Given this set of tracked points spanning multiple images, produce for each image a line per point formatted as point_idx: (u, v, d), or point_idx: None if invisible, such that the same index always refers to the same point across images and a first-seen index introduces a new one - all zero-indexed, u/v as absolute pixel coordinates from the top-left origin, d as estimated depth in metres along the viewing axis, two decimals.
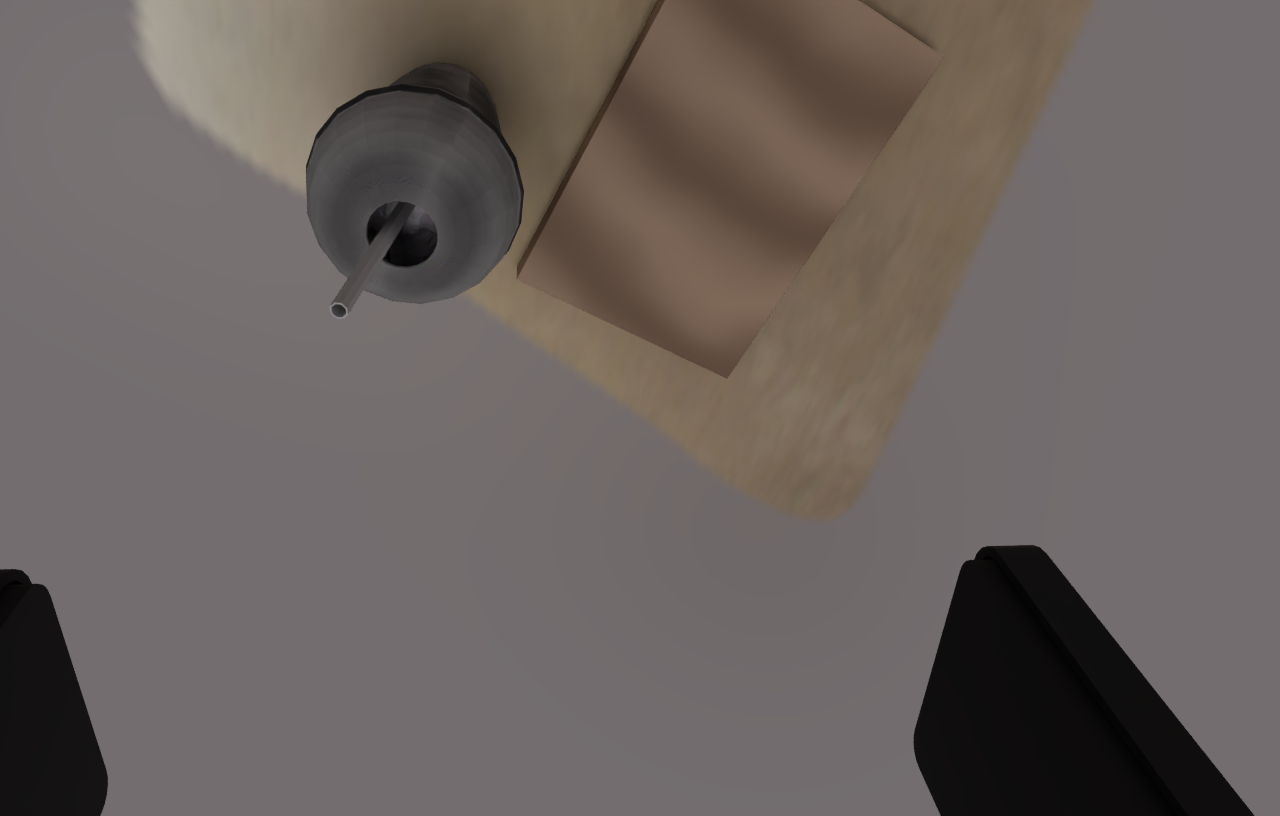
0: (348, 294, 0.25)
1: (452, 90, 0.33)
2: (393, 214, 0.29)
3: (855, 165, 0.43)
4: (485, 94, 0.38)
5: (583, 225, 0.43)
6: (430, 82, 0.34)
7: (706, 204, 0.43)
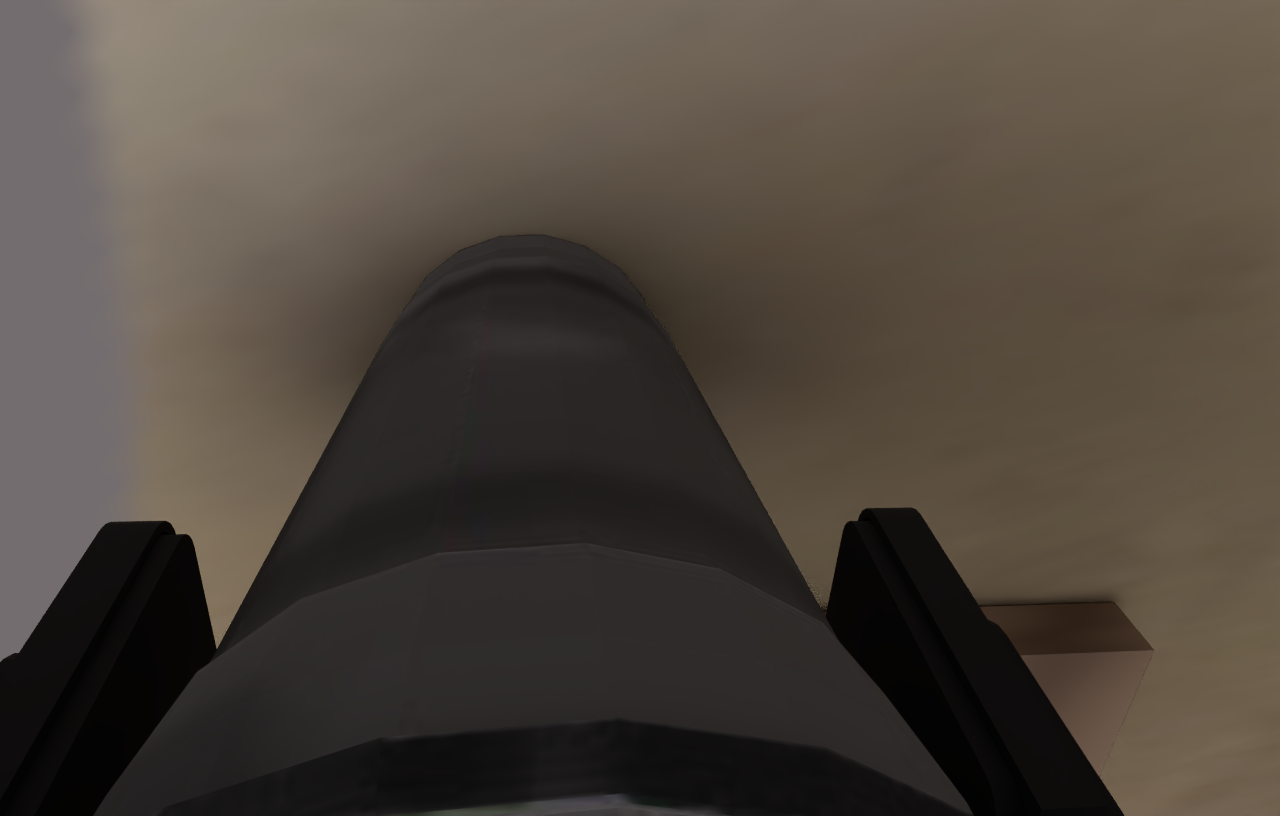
0: None
1: None
2: None
3: None
4: None
5: None
6: None
7: None
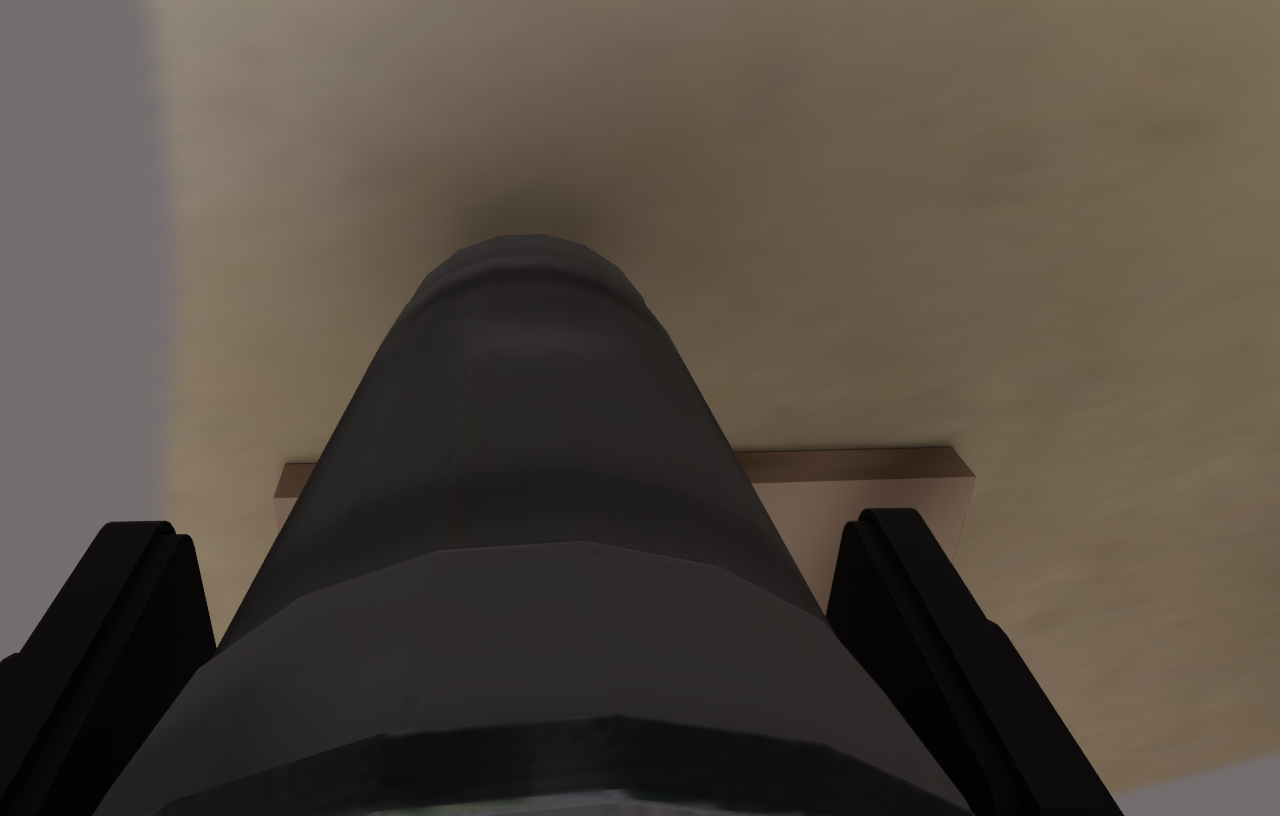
0: None
1: None
2: None
3: None
4: None
5: None
6: None
7: None
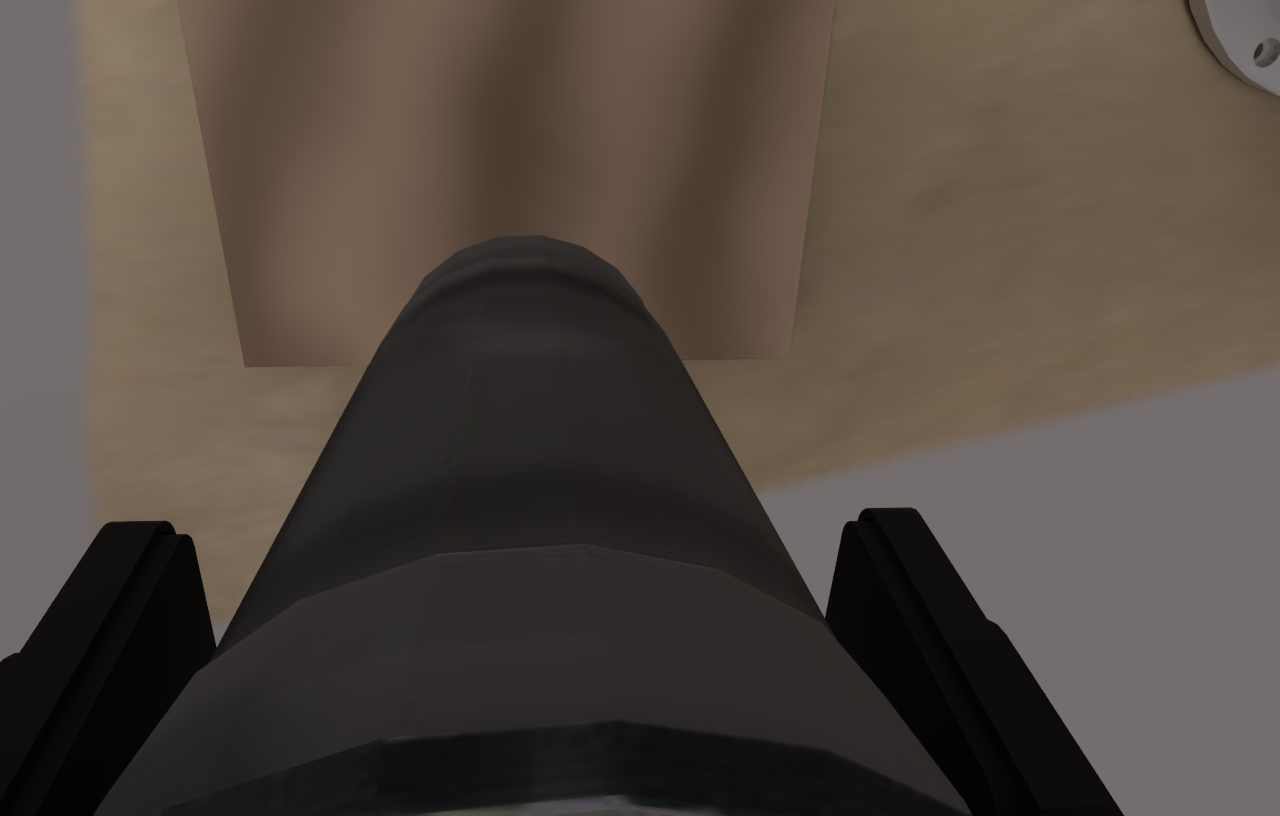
0: None
1: None
2: None
3: None
4: None
5: (327, 20, 0.25)
6: None
7: (468, 188, 0.28)
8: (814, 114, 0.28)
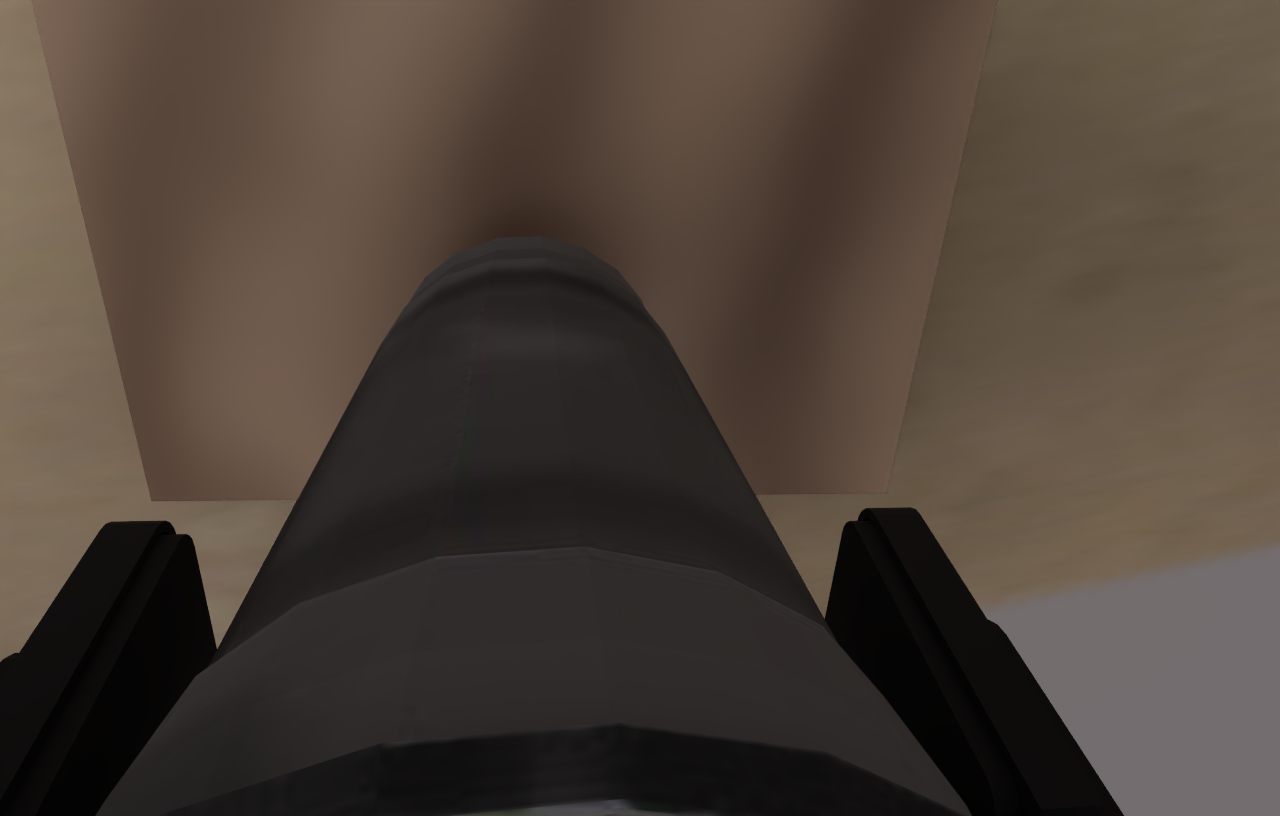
0: None
1: None
2: None
3: None
4: None
5: (257, 35, 0.17)
6: None
7: None
8: (947, 178, 0.20)
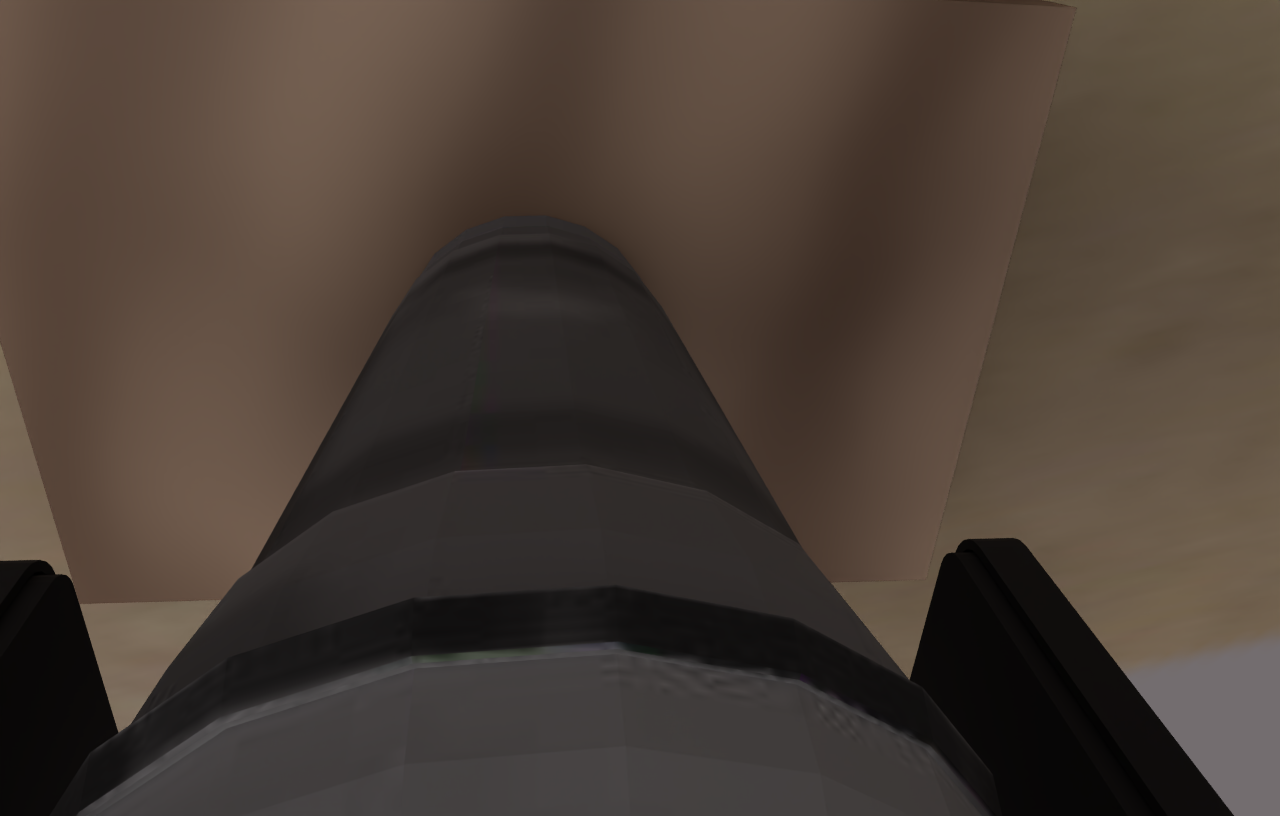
0: None
1: None
2: None
3: None
4: None
5: (186, 70, 0.14)
6: None
7: None
8: (1007, 230, 0.17)
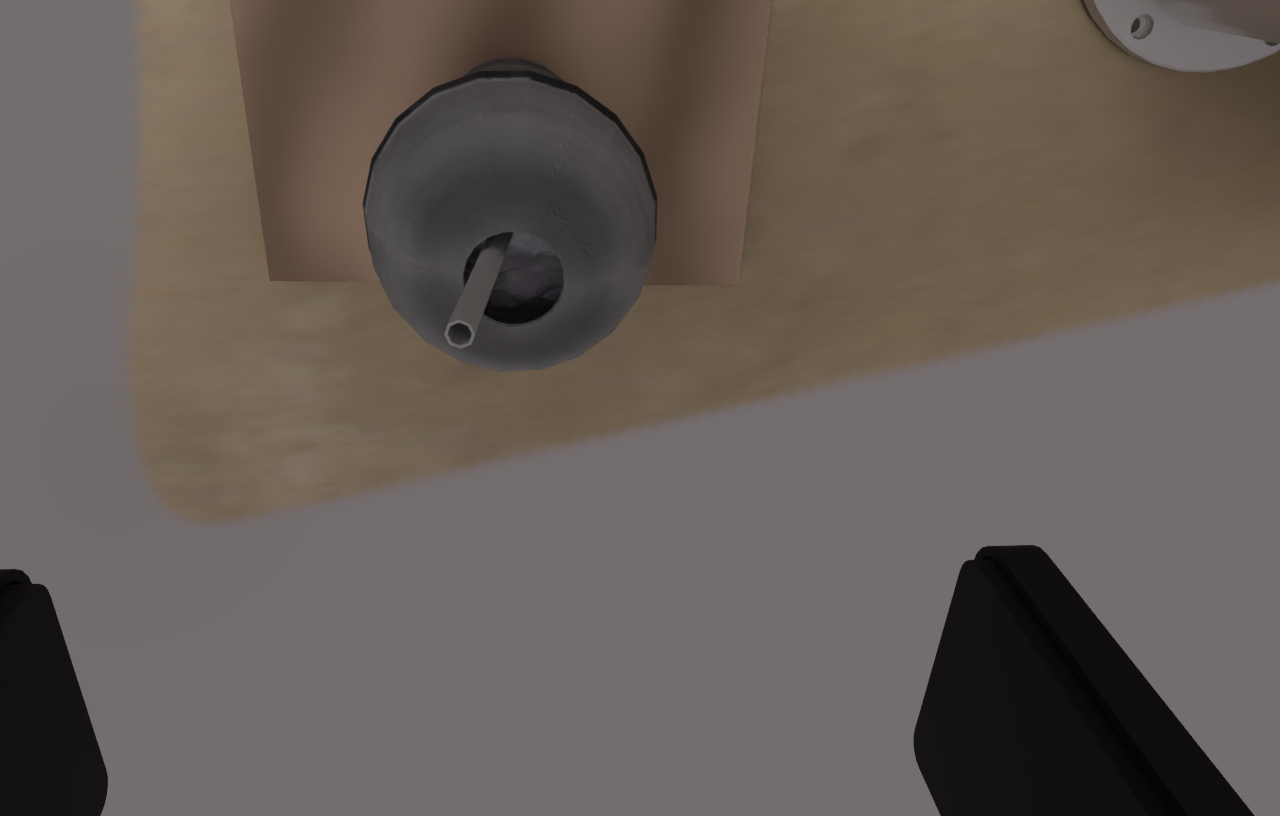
0: (477, 324, 0.16)
1: None
2: (507, 234, 0.21)
3: None
4: None
5: None
6: None
7: None
8: (757, 70, 0.33)
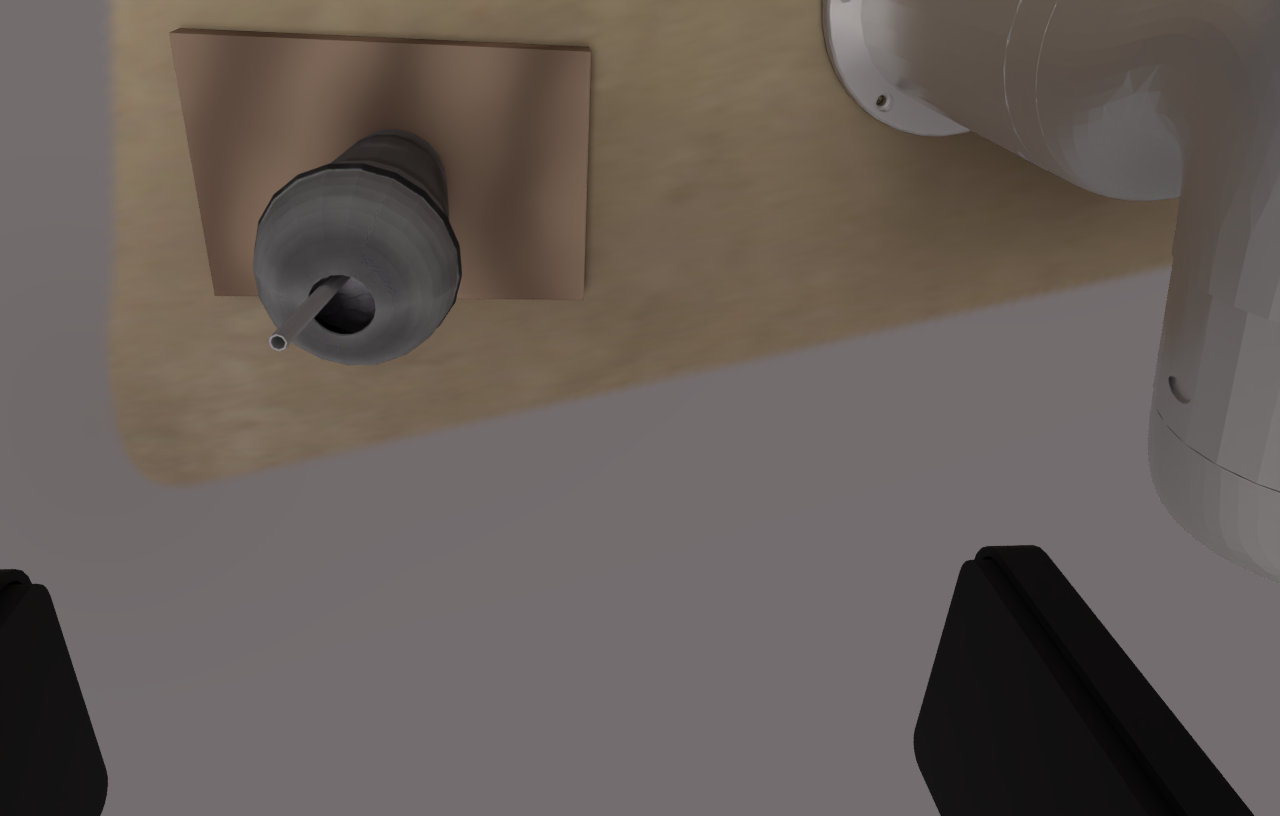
0: (292, 336, 0.26)
1: None
2: None
3: (468, 286, 0.46)
4: None
5: (267, 75, 0.41)
6: (443, 203, 0.37)
7: None
8: (583, 137, 0.43)
